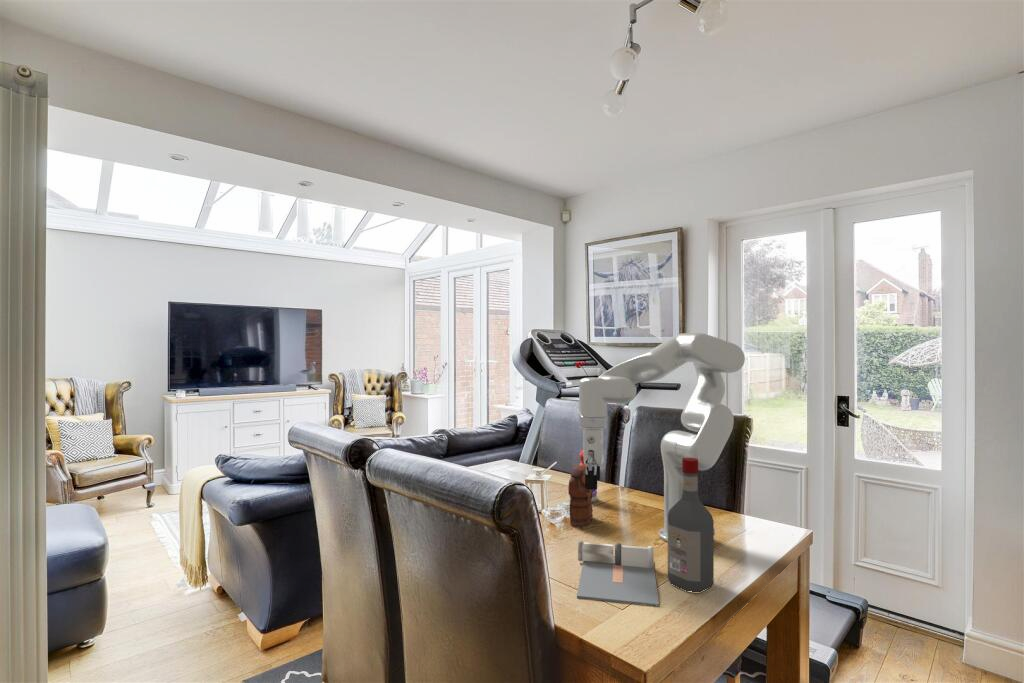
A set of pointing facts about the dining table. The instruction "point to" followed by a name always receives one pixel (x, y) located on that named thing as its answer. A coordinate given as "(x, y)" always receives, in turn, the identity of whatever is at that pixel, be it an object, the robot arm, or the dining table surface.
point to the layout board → (621, 577)
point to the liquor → (690, 536)
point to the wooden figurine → (579, 498)
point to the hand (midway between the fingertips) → (592, 484)
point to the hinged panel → (595, 552)
